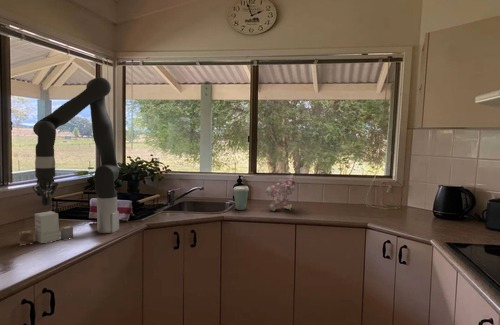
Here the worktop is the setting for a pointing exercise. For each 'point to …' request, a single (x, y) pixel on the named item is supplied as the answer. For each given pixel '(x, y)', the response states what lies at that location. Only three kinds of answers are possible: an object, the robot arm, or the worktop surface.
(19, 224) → the worktop surface
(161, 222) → the worktop surface
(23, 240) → the walnut marked block
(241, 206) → the disposable coffee cup
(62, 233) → the slate marked cylinder
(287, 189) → the flower
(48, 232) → the supplement box
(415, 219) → the worktop surface
